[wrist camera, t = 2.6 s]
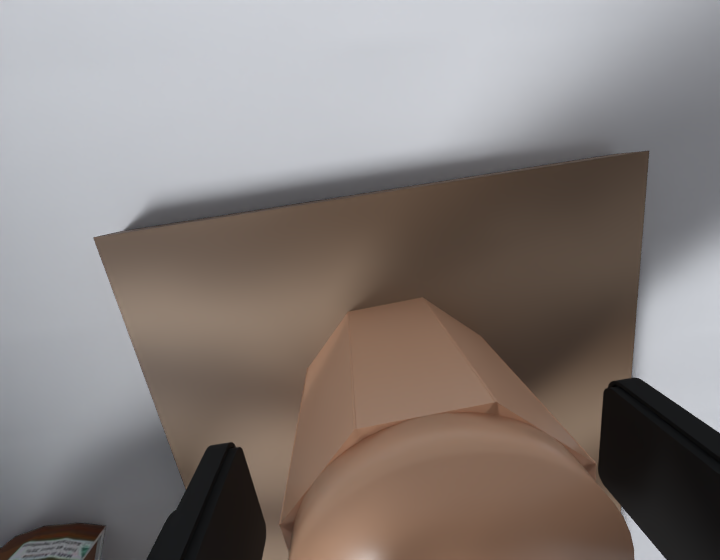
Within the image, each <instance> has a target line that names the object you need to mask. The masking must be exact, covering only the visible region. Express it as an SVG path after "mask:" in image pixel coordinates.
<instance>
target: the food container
mask: <svg viewBox="0 0 720 560" xmlns="http://www.w3.org/2000/svg"><path fill="white" fill-rule="evenodd" d="M105 528H106V526H102V525H93V524H84V523H73V524H62V525H50V526H43V527H40V528H38V529H35V530H32V531H29V532H27V533H24V534H21V535H18V536H16V537H14V538H13V539H12V540H10V541H9V542H8V543H7V544H5V545H4V546H3V547H2V548H0V560H100V557H101V551H102V545H103V539H104V533H105Z"/></svg>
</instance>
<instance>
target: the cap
mask: <svg viewBox="0 0 720 560" xmlns="http://www.w3.org/2000/svg"><path fill="white" fill-rule="evenodd" d="M596 465H597V464H596V462H595V461H594V460H593V459H592V458H591V457H590V456H589V455H588V453H587V452H586V451H585V450H584V449H583V448H582V447H581V446H580V445H579V444H578V442H577V441H576V440H575V439H574V438H573V437H572V436H571V435H570V434H569V433H568V431H567V430H566V429H565V428H564V427H563V426H562V425H561V424H560V423H559V421H558V420H557V419H556V418H555V417H554V416H553V415H552V414H551V413H550V412H549V410H548V409H547V408H546V407H545V406H544V405H543V404H542V403H541V402H540V401H539V399H538V398H537V397H536V396H535V395H534V394H533V393H532V392H531V391H530V390H529V388H528V387H527V386H526V385H525V384H524V383H523V382H522V381H521V380H520V379H519V377H518V376H517V375H516V374H515V373H514V372H513V371H512V370H511V369H510V368H509V366H508V365H507V364H506V363H505V362H504V361H503V360H502V359H501V358H500V357H499V355H498V354H497V353H496V352H495V351H494V350H493V349H492V348H491V347H490V346H489V344H488V343H487V342H486V341H485V340H484V339H483V338H482V337H481V336H480V335H478V334H477V333H475V332H474V331H472V330H471V329H469V328H468V327H466V326H465V325H463V324H462V323H460V322H459V321H457V320H456V319H454V318H453V317H451V316H450V315H448V314H447V313H445V312H444V311H442V310H441V309H439V308H438V307H436V306H435V305H433V304H432V303H430V302H429V301H427V300H426V299H424V298H423V297H421V298H416V299H411V300H406V301H401V302H396V303H390V304H385V305H380V306H375V307H370V308H365V309H359V310H354V311H348V312H347V314H346V315H345V317H344V318H343V320H342V321H341V322H340V324H339V325H338V327H337V328H336V329H335V331H334V332H333V334H332V335H331V336H330V338H329V339H328V341H327V342H326V343H325V345H324V346H323V348H322V349H321V350H320V352H319V353H318V355H317V356H316V357H315V359H314V360H313V362H312V363H311V364H310V366H309V367H308V368H307V373H306V378H305V384H304V390H303V395H302V401H301V406H300V412H299V417H298V423H297V428H296V434H295V440H294V445H293V451H292V456H291V462H290V467H289V473H288V479H287V484H286V490H285V495H284V501H283V506H282V512H281V518H280V523H279V526H280V528H281V531H282V534H283V537H284V540H285V543H286V546H287V549H288V552H289V558H288V560H634V547H633V543H632V538H631V534H630V531H629V529H628V526H627V524H626V522H625V520H624V517H623V516H622V514H621V513H620V511H619V510H618V508H617V507H616V505H615V504H614V503H613V501H612V500H611V499H610V498H609V497H608V495H607V494H606V493H605V492H604V491H603V490H602V488H601V487H600V486H599V485H598V484H597V482H596Z"/></svg>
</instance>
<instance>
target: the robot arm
mask: <svg viewBox="0 0 720 560" xmlns="http://www.w3.org/2000/svg"><path fill="white" fill-rule="evenodd" d="M598 474H599V477H600V479H601V481H602V483H603V485H604V486H605V487H606V488H607V490H608V491H609V492H610V493H611V494H612V496H613V497H614V498H615V499H616V500H617V501H618V503H619V504H620V505H621V506H622V507H623V509H624V510H625V511H626V512H627V513H628V514H629V516H630V517H631V518H632V519H633V520H634V522H635V523H636V524H637V525H638V526H639V528H640V529H641V530H642V531H643V532H644V533H645V535H646V536H647V537H648V538H649V539H650V541H651V542H652V543H653V544H654V545H655V546H656V548H657V549H658V550H659V551H660V552H661V554H662V555H663V556H664V557H665V558H666V559H667V560H720V433H719V432H717V431H716V430H714V429H713V428H711V427H710V426H708V425H707V424H705V423H704V422H702V421H701V420H700V419H698V418H697V417H695V416H694V415H692V414H691V413H689V412H688V411H686V410H685V409H683V408H682V407H681V406H679V405H678V404H676V403H675V402H673V401H672V400H670V399H669V398H667V397H666V396H664V395H663V394H662V393H660V392H659V391H657V390H656V389H654V388H653V387H651V386H650V385H648V384H647V383H645V382H644V381H643V380H641V379H639V378H628V379H622V380H616V381H612V382H610V383H609V385H608V388H606V389H605V390H604V392H603V404H602V418H601V432H600V446H599V460H598ZM265 542H266V524H265V520H264V517H263V514H262V510H261V507H260V504H259V501H258V497H257V494H256V491H255V488H254V484H253V481H252V478H251V475H250V471H249V468H248V465H247V462H246V458H245V455H244V452H243V449H242V448H241V447H236V446H235V444H234V443H233V442H228V443H222V444H216V445H210V446H209V447H207V449H206V451H205V453H204V455H203V457H202V459H201V461H200V463H199V465H198V467H197V469H196V471H195V473H194V475H193V477H192V479H191V481H190V483H189V485H188V487H187V489H186V491H185V493H184V495H183V497H182V499H181V501H180V503H179V505H178V507H177V510H175V511H174V512H173V513H172V514H170V516H169V517H168V519H167V520H166V522H165V524H164V526H163V528H162V530H161V532H160V534H159V536H158V538H157V540H156V542H155V544H154V546H153V548H152V550H151V552H150V554H149V556H148V558H147V560H262V557H263V552H264V547H265Z"/></svg>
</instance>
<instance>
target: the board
mask: <svg viewBox="0 0 720 560" xmlns="http://www.w3.org/2000/svg"><path fill="white" fill-rule="evenodd" d="M648 159H649V151H642V152H632V153H622V154H613V155H606V156H600V157H593V158H587V159H581V160H574V161H568V162H561V163H555V164H549V165H542V166H536V167H529V168H523V169H517V170H510V171H504V172H497V173H491V174H485V175H478V176H472V177H465V178H459V179H453V180H446V181H440V182H433V183H427V184H421V185H414V186H408V187H401V188H395V189H389V190H382V191H376V192H369V193H363V194H357V195H350V196H344V197H337V198H331V199H325V200H318V201H312V202H305V203H299V204H293V205H286V206H280V207H273V208H267V209H260V210H254V211H248V212H241V213H235V214H228V215H222V216H216V217H209V218H203V219H196V220H190V221H184V222H177V223H171V224H164V225H158V226H152V227H145V228H139V229H132V230H126V231H120V232H116V233H111V234H107V235H103V236H98V237H94V241H95V244H96V246H97V249H98V252H99V254H100V257H101V260H102V263H103V265H104V268H105V271H106V273H107V276H108V279H109V282H110V284H111V287H112V290H113V293H114V295H115V298H116V301H117V303H118V306H119V309H120V312H121V314H122V317H123V320H124V322H125V325H126V328H127V331H128V333H129V336H130V339H131V342H132V344H133V347H134V350H135V352H136V355H137V358H138V361H139V363H140V366H141V369H142V372H143V374H144V377H145V380H146V382H147V385H148V388H149V391H150V393H151V396H152V399H153V401H154V404H155V407H156V410H157V412H158V415H159V418H160V421H161V423H162V426H163V429H164V431H165V434H166V437H167V440H168V442H169V445H170V448H171V451H172V453H173V456H174V459H175V461H176V464H177V467H178V470H179V472H180V475H181V478H182V480H183V483H184V486H185V489H187V487H188V485H189V483H190V481H191V479H192V477H193V475H194V473H195V471H196V469H197V467H198V465H199V463H200V461H201V459H202V457H203V455H204V453H205V451H206V449H207V447H209V446H210V445H216V444H222V443H228V442H233V443H234V444H235V446H236V447H241V448H242V449H243V452H244V455H245V458H246V462H247V465H248V468H249V471H250V475H251V478H252V481H253V484H254V488H255V491H256V494H257V497H258V501H259V504H260V507H261V510H262V514H263V517H264V520H265V524H266V542H265V547H264V552H263V557H262V560H288V558H289V552H288V549H287V546H286V543H285V540H284V537H283V534H282V531H281V528H280V526H279V523H280V518H281V512H282V506H283V501H284V495H285V490H286V484H287V479H288V473H289V467H290V462H291V456H292V451H293V445H294V440H295V434H296V428H297V423H298V417H299V412H300V406H301V401H302V395H303V390H304V384H305V378H306V373H307V368H308V367H309V366H310V364H311V363H312V362H313V360H314V359H315V357H316V356H317V355H318V353H319V352H320V350H321V349H322V348H323V346H324V345H325V343H326V342H327V341H328V339H329V338H330V336H331V335H332V334H333V332H334V331H335V329H336V328H337V327H338V325H339V324H340V322H341V321H342V320H343V318H344V317H345V315H346V314H347V312H348V311H354V310H359V309H365V308H370V307H375V306H380V305H385V304H390V303H396V302H401V301H406V300H411V299H416V298H421V297H423V298H424V299H426V300H427V301H429V302H430V303H432V304H433V305H435V306H436V307H438V308H439V309H441V310H442V311H444V312H445V313H447V314H448V315H450V316H451V317H453V318H454V319H456V320H457V321H459V322H460V323H462V324H463V325H465V326H466V327H468V328H469V329H471V330H472V331H474V332H475V333H477V334H478V335H480V336H481V337H482V338H483V339H484V340H485V341H486V342H487V343H488V344H489V346H490V347H491V348H492V349H493V350H494V351H495V352H496V353H497V354H498V355H499V357H500V358H501V359H502V360H503V361H504V362H505V363H506V364H507V365H508V366H509V368H510V369H511V370H512V371H513V372H514V373H515V374H516V375H517V376H518V377H519V379H520V380H521V381H522V382H523V383H524V384H525V385H526V386H527V387H528V388H529V390H530V391H531V392H532V393H533V394H534V395H535V396H536V397H537V398H538V399H539V401H540V402H541V403H542V404H543V405H544V406H545V407H546V408H547V409H548V410H549V412H550V413H551V414H552V415H553V416H554V417H555V418H556V419H557V420H558V421H559V423H560V424H561V425H562V426H563V427H564V428H565V429H566V430H567V431H568V433H569V434H570V435H571V436H572V437H573V438H574V439H575V440H576V441H577V442H578V444H579V445H580V446H581V447H582V448H583V449H584V450H585V451H586V452H587V453H588V455H589V456H590V457H591V458H592V459H593V460H594V461H595V462H596V464H597V465H596V482H597V484H598V485H599V486H600V487H601V488H602V490H603V491H604V492H605V493H606V494H607V495H608V497H609V498H610V499H611V500H612V501H613V503H614V504H615V505H616V507H617V508H618V510H619V511H620V513H621V505H620V504H619V503H618V501H617V500H616V499H615V498H614V497H613V496H612V494H611V493H610V492H609V491H608V490H607V488H606V487H605V486H604V485H603V483H602V481H601V479H600V477H599V474H598V460H599V446H600V432H601V418H602V404H603V392H604V390H605V389H606V388H608V385H609V383H610V382H612V381H616V380H622V379H628V378H631V374H632V362H633V349H634V336H635V324H636V311H637V298H638V286H639V273H640V260H641V248H642V235H643V223H644V210H645V197H646V185H647V172H648Z"/></svg>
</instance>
